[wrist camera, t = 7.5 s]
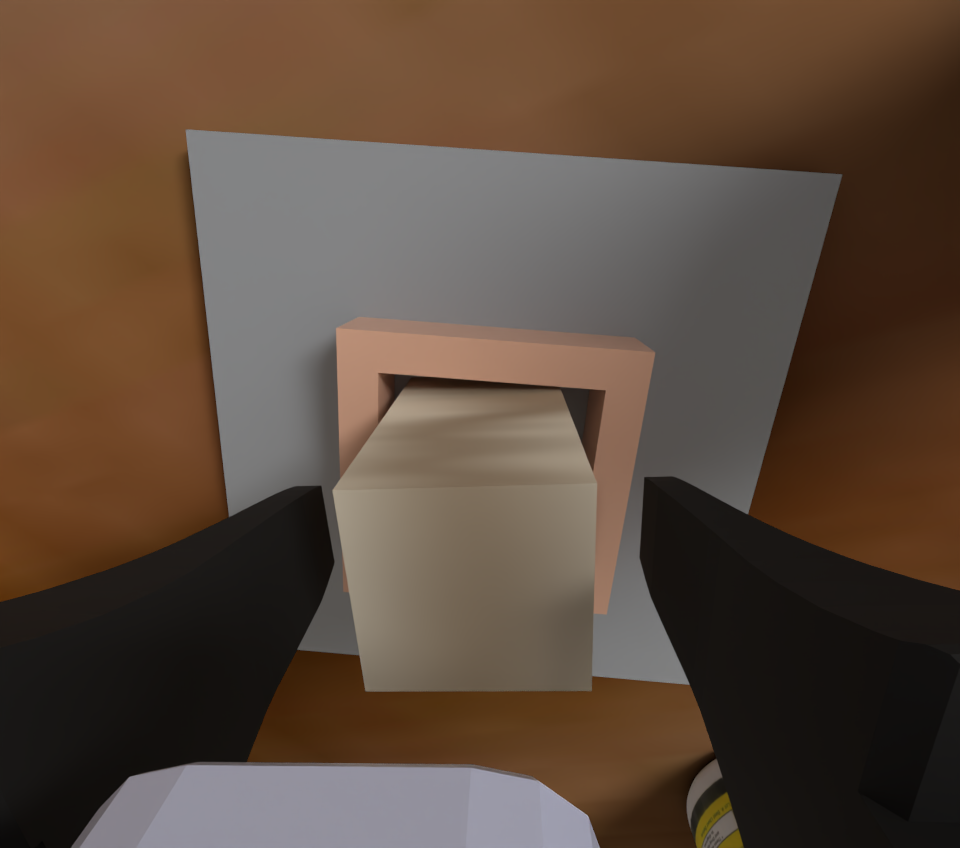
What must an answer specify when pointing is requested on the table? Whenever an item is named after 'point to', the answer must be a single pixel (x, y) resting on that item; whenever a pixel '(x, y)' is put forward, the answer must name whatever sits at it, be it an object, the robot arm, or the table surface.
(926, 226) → the table surface
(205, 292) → the holder
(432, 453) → the peg
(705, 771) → the pill bottle
